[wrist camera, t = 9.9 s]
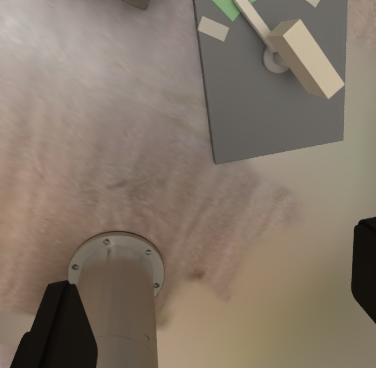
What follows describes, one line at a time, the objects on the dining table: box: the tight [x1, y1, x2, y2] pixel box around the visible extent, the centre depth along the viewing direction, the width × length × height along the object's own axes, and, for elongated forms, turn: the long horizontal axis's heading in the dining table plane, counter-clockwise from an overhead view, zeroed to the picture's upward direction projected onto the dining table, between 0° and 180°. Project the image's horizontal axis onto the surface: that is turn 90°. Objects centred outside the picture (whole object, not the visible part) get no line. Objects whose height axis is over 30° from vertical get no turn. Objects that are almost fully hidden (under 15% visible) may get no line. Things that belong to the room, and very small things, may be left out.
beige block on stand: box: [233, 0, 345, 99], centre depth 32 cm, size 11×3×9 cm, turn 43°
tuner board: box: [193, 0, 347, 165], centre depth 38 cm, size 22×16×1 cm
